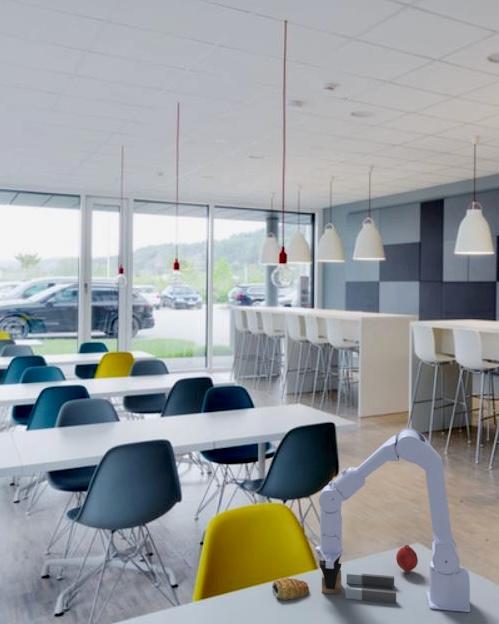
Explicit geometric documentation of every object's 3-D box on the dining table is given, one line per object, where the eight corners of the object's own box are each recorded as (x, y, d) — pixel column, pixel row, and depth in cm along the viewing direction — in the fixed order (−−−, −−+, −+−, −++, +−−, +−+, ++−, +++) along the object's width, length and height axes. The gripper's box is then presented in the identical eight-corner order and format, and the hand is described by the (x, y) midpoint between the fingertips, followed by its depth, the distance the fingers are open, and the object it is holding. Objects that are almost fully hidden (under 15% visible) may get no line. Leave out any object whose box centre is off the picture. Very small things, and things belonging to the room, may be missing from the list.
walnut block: (341, 584, 155) (341, 569, 155) (341, 593, 150) (341, 578, 150) (322, 583, 156) (322, 568, 156) (321, 592, 151) (321, 577, 151)
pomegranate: (395, 566, 165) (395, 538, 165) (415, 567, 165) (416, 540, 164) (397, 576, 160) (397, 547, 159) (419, 577, 159) (419, 548, 159)
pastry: (303, 585, 156) (303, 571, 155) (313, 597, 149) (313, 583, 149) (270, 590, 153) (270, 575, 153) (278, 603, 146) (278, 588, 146)
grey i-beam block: (394, 585, 155) (394, 576, 155) (396, 603, 146) (396, 593, 146) (346, 581, 157) (346, 572, 157) (345, 598, 148) (345, 588, 148)
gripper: (317, 520, 161) (317, 569, 161) (313, 542, 146) (313, 595, 147) (343, 522, 159) (343, 571, 160) (341, 544, 145) (341, 598, 145)
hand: (330, 583), depth 153 cm, fingers closed on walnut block, 5 cm apart
